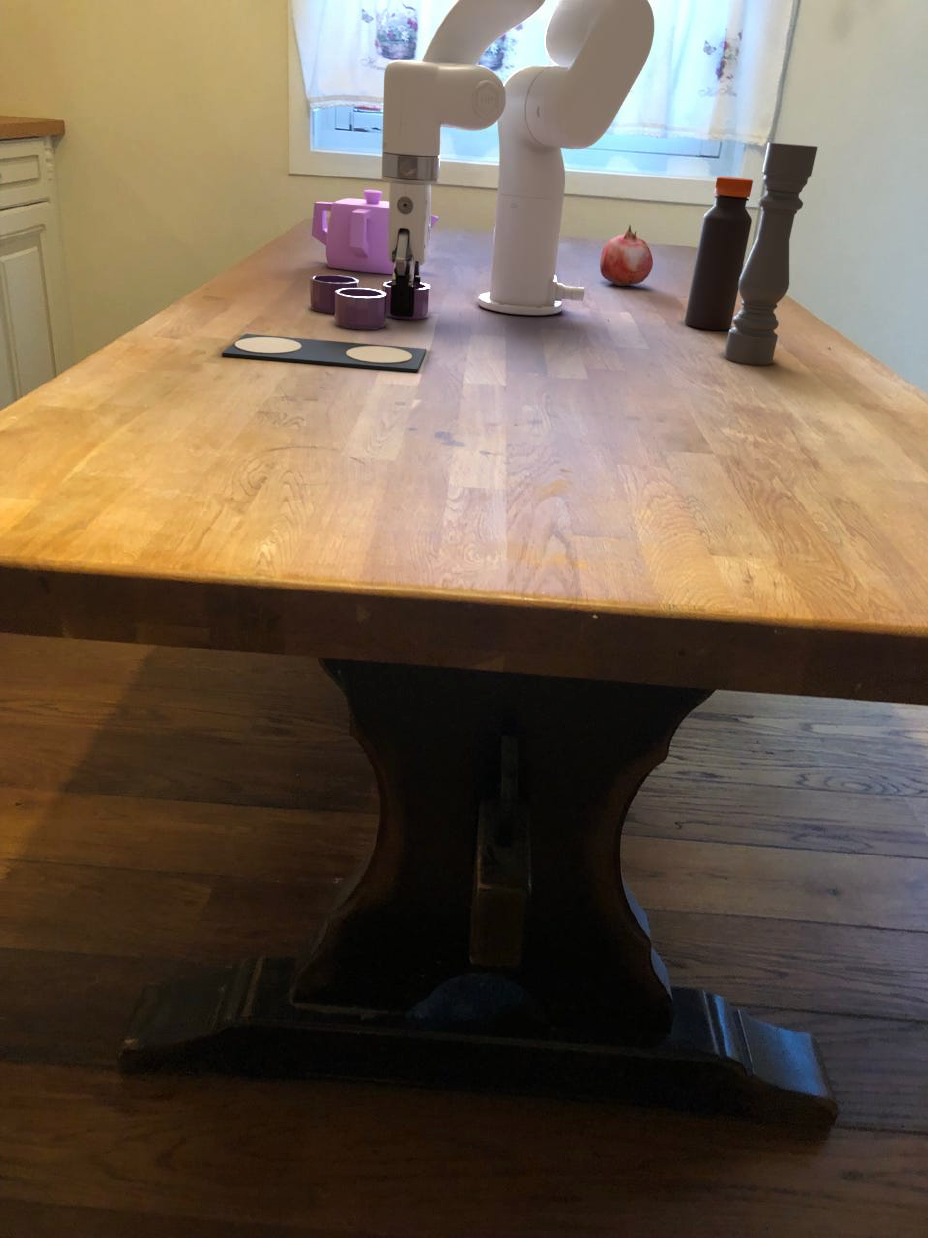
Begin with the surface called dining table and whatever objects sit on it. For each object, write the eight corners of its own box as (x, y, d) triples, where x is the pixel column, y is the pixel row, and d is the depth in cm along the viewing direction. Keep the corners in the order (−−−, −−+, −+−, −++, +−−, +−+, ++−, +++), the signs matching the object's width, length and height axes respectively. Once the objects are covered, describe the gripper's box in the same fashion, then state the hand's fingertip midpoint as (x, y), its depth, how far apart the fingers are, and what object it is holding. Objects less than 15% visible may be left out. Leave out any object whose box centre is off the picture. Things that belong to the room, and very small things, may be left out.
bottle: (675, 323, 141) (701, 175, 131) (699, 319, 145) (725, 175, 136) (716, 333, 137) (745, 180, 127) (738, 327, 141) (769, 180, 132)
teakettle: (305, 260, 168) (304, 183, 162) (386, 257, 178) (388, 185, 172) (355, 277, 157) (356, 195, 151) (438, 273, 166) (443, 196, 160)
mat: (426, 352, 115) (426, 347, 114) (417, 372, 106) (417, 368, 106) (245, 336, 115) (245, 332, 115) (222, 356, 106) (221, 351, 106)
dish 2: (387, 320, 129) (388, 290, 127) (381, 331, 123) (381, 299, 121) (340, 317, 129) (340, 286, 127) (331, 327, 123) (331, 295, 121)
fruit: (610, 277, 175) (618, 219, 170) (657, 286, 170) (666, 226, 165) (586, 282, 168) (593, 221, 163) (634, 291, 164) (643, 229, 159)
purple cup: (361, 306, 136) (361, 276, 134) (353, 315, 130) (353, 284, 128) (316, 302, 136) (316, 273, 134) (306, 311, 131) (306, 280, 129)
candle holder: (774, 367, 120) (823, 147, 108) (724, 361, 121) (767, 143, 109) (770, 356, 126) (816, 145, 114) (722, 351, 127) (763, 141, 115)
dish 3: (430, 311, 136) (431, 282, 134) (425, 321, 130) (427, 291, 128) (385, 308, 136) (386, 279, 134) (378, 317, 130) (379, 287, 128)
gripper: (432, 176, 117) (425, 325, 125) (444, 168, 132) (437, 301, 140) (372, 171, 117) (369, 320, 125) (390, 163, 132) (386, 297, 141)
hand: (405, 309), depth 133 cm, fingers closed on dish 3, 6 cm apart
